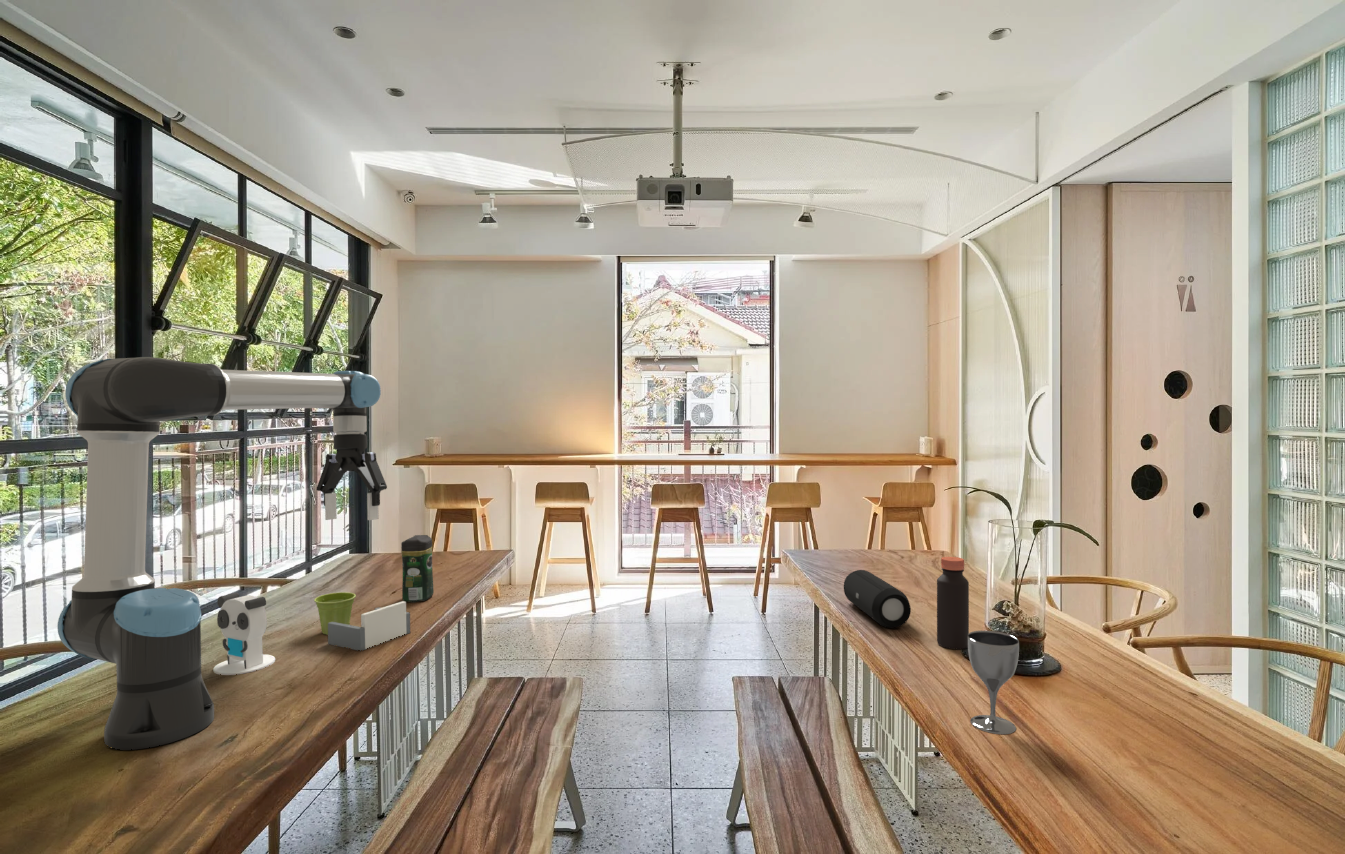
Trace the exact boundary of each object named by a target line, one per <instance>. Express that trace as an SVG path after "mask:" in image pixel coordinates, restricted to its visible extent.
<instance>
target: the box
mask: <svg viewBox="0 0 1345 854" xmlns="http://www.w3.org/2000/svg"><path fill="white" fill-rule="evenodd" d="M360 622H361V625H360V626H356V625H351V624H350V625H347V624H342V623H337V622H330V623H328V635H327V644H328V645H331V646H335V645H337V646H336V647H340V648H344V647H346V649H349V648H351V649H350V650H353V651H354V650H355V651H358V650H360V651H359V652H362V651H364V650H367V648H368V649H370V648H372V646H373V647H375V646H374V645H376V646H378V645H381V644H383V642H384V643H386V642H389V641H391V640H390V639H392V640H394V638H395V639H397V638H399V637H398V636H400V637H402V635H403V636H405V635H408V634H411V612H408V611H407V601H403V600H402V601H399V602H396V603H393V604H389V605H387V606H383V607H380V606H379V607H374V610H371V611H367V612H364V613H362V614H360ZM404 634H405V635H404ZM396 637H397V638H396ZM385 641H386V642H385ZM380 643H381V644H380ZM347 647H348V648H347ZM369 647H370V648H369ZM361 650H362V651H361Z"/></svg>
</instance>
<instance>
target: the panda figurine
mask: <svg viewBox="0 0 1345 854" xmlns="http://www.w3.org/2000/svg"><path fill="white" fill-rule="evenodd" d="M216 603H217V606H218V607H219V608H220V610H218V612H217V619H216V620H217V621H216V622H217V626H218V628H219V629H220V632H221V633H222V635H223V637H224V638H223V639H222V647H223V649H224V650H225V651H226V658H227V660H224V661H222V662H219V663H218V664H215V666H214V667H213V673H214V674H217V675H220V674H221V675H222V676H235V675H236V674H237V675H242V674H249V673H253V672H257V671H260V670H262V669H265V667H266V668H268V667H270V666H271V665H273V664H274V663H275V662H276V657H275V656H273V655H271V654H268V653H267V654H264V653H263V635H264V634H265V633H266V630H267V626H268V617H267V611H266V607H265V606H267V599H266V597H264V596H260V597H257V596H254V595H243V596H240V594H239V593H238V592H234V593H233V592H232V593H230V594H229V593H228V594H225V595H220V596H219V597H218V598H217V602H216ZM269 665H270V666H269ZM256 670H257V671H256Z"/></svg>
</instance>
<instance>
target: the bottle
mask: <svg viewBox="0 0 1345 854" xmlns="http://www.w3.org/2000/svg"><path fill="white" fill-rule="evenodd" d="M940 567H941V570H942V574H940V575H939V576H938V578H936V643H937V644H938V645H939V646H940V647H942V648H945V649H949V650H965V649H968V634H969V633H970V629H969V628H970V626H969V625H970V624H969V623H970V615H969V614H970V613H969V611H970V610H969V609H970V605H969V604H970V595H969V594H970V585H969V584H970V583H969V581H968V579H967V578H966V577H965V576H964V575H963V574H964V572H965V559H964V558H961V557H957V556H943V557H941V560H940Z"/></svg>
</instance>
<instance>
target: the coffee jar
mask: <svg viewBox="0 0 1345 854" xmlns="http://www.w3.org/2000/svg"><path fill="white" fill-rule="evenodd" d="M400 544H401V546H400V548H401V549H400V550H401V551H400V552H401V560H402V564H401V565H402V566H401V567H402V590H401V591H402V594H401V597H402V601H404V602H407V603H417V602H424V601H427V600H428V599H430V598H432V596H433V595H434V575H433V573H434V572H433V539H432V537H430V536H429V535H428V534H417V535H416V534H415V535H413V536H412V537H409V538H407V539H405V540H403V541H402V542H401V543H400Z"/></svg>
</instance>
